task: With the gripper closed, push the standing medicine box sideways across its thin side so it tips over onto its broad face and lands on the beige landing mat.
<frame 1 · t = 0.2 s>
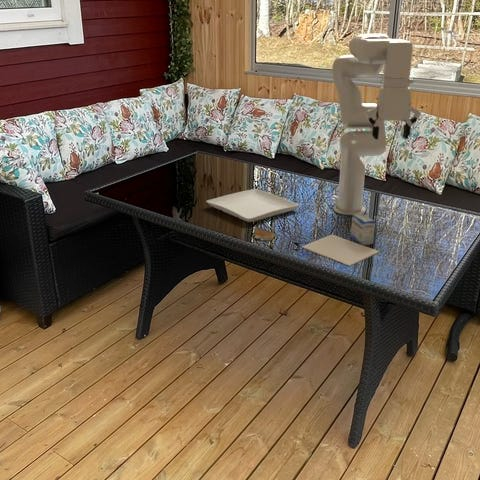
hand: (390, 138, 176), 36 cm above the table, tool pointing down, fingers open, 9 cm apart
medicine box: (361, 241, 191), on the table
landing mat: (340, 249, 184), on the table
square plate: (252, 211, 221), on the table
shard: (260, 237, 195), on the table
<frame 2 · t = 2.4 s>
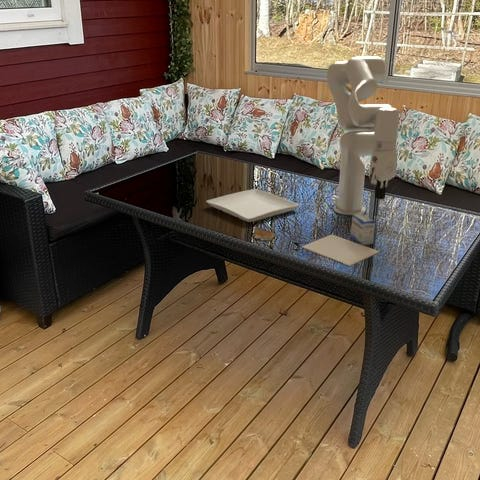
hand: (379, 198, 190), 14 cm above the table, tool pointing down, fingers closed
nothing on the table moved.
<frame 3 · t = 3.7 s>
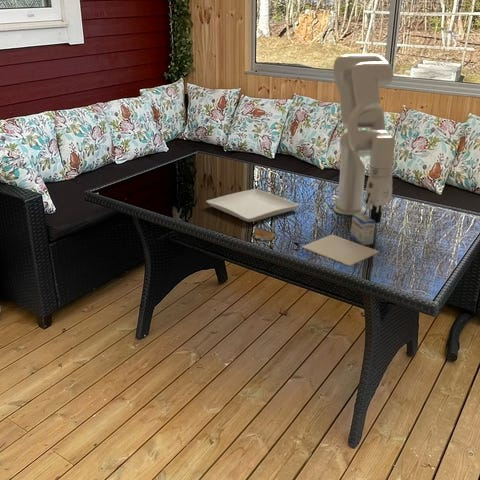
hand: (375, 221, 193), 5 cm above the table, tool pointing down, fingers closed
nothing on the table moved.
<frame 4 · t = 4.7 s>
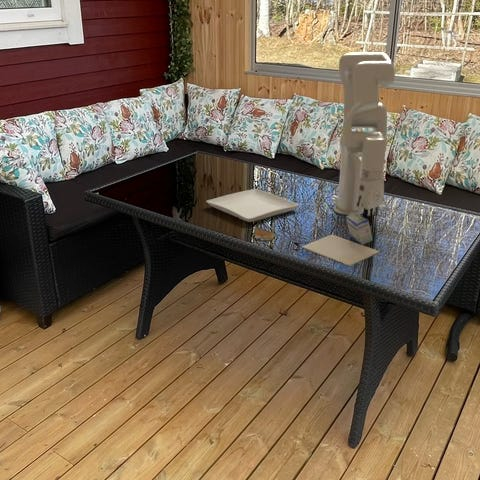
hand: (366, 225, 190), 5 cm above the table, tool pointing down, fingers closed
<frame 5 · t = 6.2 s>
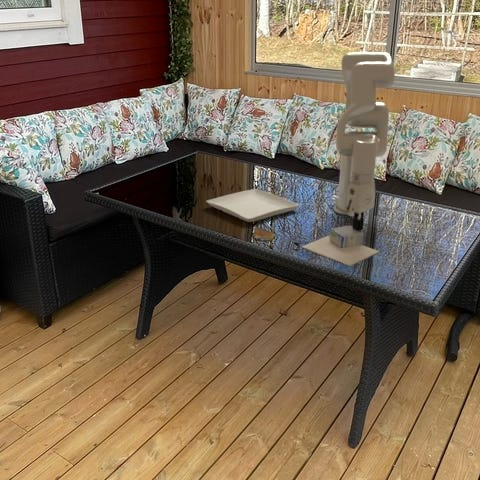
hand: (357, 229, 187), 5 cm above the table, tool pointing down, fingers closed
medicine box: (357, 234, 189), point 3 cm above the table, touching landing mat
everything else where it was.
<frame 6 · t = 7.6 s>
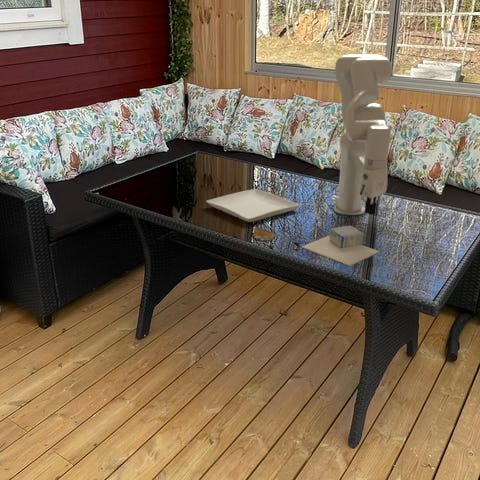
hand: (369, 213, 191), 9 cm above the table, tool pointing down, fingers closed
nothing on the table moved.
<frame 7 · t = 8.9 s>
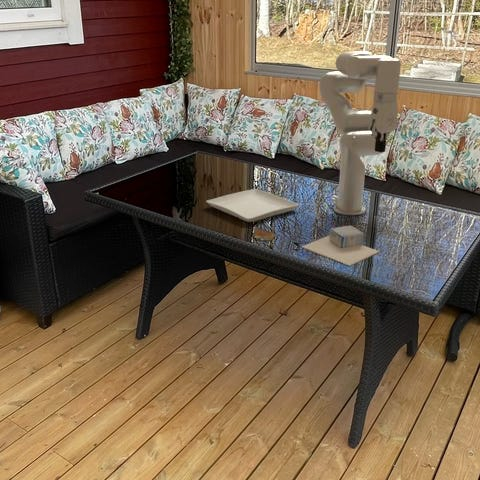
hand: (379, 151, 190), 29 cm above the table, tool pointing down, fingers closed
nothing on the table moved.
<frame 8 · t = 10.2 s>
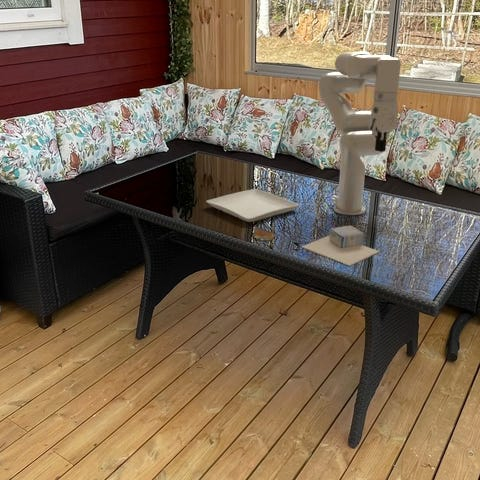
hand: (380, 150, 190), 29 cm above the table, tool pointing down, fingers closed
nothing on the table moved.
at the end: medicine box tilted 90°; medicine box inside the target area (0.6 cm from its centre), point 2.7 cm above the table; medicine box touching landing mat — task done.
